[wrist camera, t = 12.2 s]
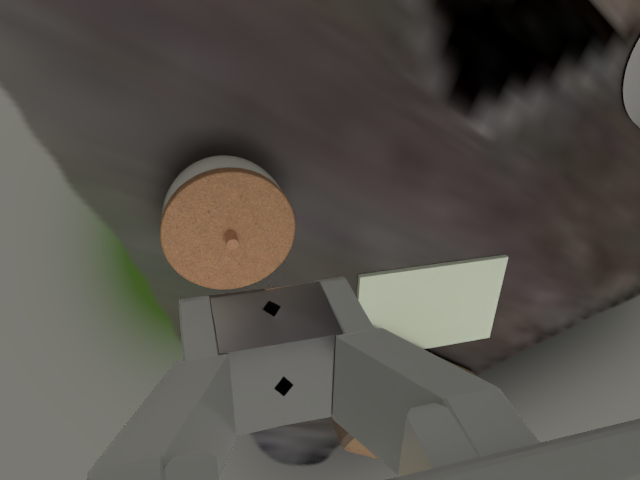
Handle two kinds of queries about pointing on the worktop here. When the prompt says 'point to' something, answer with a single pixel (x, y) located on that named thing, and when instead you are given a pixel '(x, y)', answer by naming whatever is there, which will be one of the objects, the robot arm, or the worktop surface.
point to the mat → (435, 300)
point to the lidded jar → (226, 223)
